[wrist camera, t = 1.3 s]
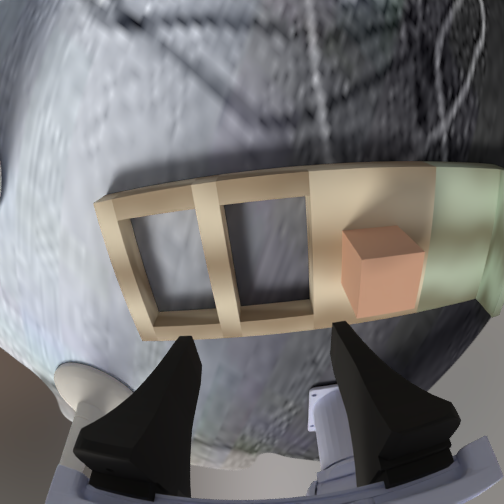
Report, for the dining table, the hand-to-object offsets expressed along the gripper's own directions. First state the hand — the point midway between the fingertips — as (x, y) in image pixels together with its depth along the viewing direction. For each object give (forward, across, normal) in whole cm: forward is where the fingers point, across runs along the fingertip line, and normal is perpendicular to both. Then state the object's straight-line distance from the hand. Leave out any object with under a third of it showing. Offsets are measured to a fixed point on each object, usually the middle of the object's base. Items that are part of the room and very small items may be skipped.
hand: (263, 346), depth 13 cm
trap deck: (+9, -5, 0) cm, 11 cm away
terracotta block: (+7, -8, 0) cm, 11 cm away
